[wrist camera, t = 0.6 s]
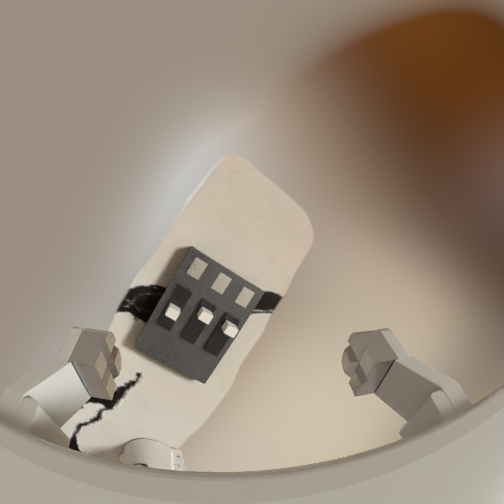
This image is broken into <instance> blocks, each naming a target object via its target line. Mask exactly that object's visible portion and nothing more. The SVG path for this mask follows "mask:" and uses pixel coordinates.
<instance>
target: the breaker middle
mask: <svg viewBox="0 0 504 504" xmlns="http://www.w3.org/2000/svg"><path fill="white" fill-rule="evenodd" d="M197 316H198V319H199V320H201V321H203V322H204V323H206V324H208V325H209V323H210V321H211V320H212V318H213V314H212V312H211V311H209V310H208V309H206V308H204V307H201V309H200V310H199V312H198V313H197Z"/></svg>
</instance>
